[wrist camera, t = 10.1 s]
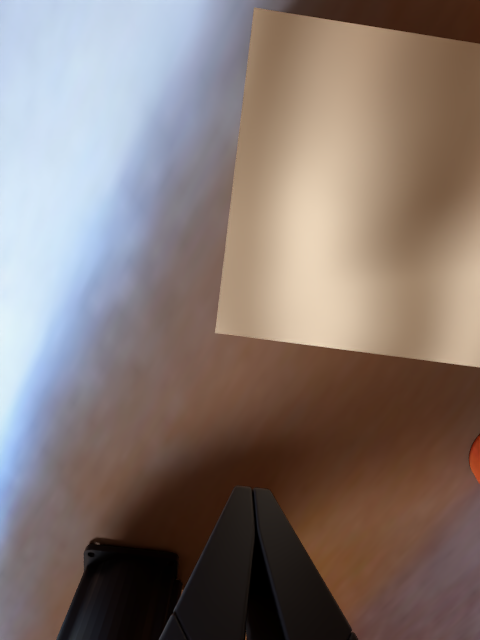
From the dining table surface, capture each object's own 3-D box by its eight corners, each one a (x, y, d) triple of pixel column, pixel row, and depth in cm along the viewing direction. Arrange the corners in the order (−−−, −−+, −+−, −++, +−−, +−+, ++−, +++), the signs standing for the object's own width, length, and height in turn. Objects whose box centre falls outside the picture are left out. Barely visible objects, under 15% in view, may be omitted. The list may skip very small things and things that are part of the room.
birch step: (221, 301, 19) (215, 332, 15) (252, 48, 15) (254, 7, 11) (484, 337, 20) (539, 375, 16) (582, 100, 16) (687, 77, 12)
